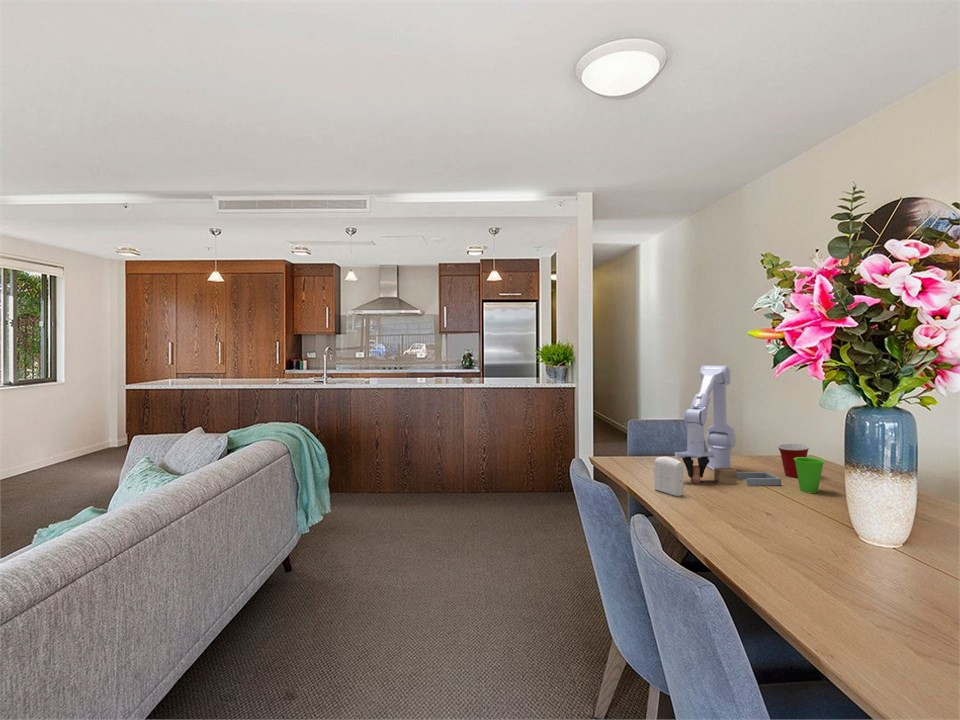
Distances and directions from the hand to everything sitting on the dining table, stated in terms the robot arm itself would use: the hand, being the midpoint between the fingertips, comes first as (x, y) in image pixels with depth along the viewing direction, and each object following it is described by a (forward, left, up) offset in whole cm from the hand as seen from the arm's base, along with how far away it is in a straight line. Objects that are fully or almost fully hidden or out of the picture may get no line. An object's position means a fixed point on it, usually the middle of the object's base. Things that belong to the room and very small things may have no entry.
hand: (695, 477), depth 189 cm
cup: (+12, +34, -2) cm, 36 cm away
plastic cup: (-9, +41, -2) cm, 43 cm away
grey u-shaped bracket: (0, +22, -2) cm, 23 cm away
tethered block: (0, +6, -2) cm, 7 cm away
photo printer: (+13, -15, -2) cm, 20 cm away
